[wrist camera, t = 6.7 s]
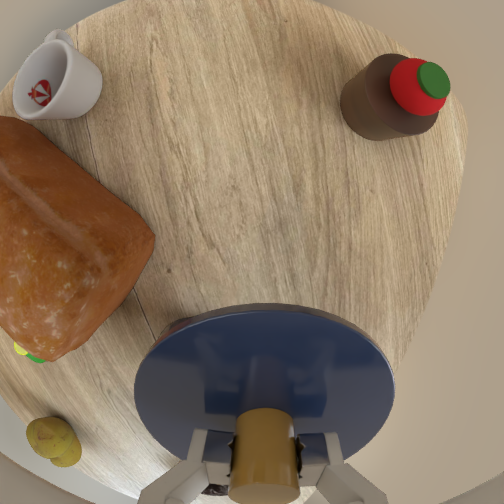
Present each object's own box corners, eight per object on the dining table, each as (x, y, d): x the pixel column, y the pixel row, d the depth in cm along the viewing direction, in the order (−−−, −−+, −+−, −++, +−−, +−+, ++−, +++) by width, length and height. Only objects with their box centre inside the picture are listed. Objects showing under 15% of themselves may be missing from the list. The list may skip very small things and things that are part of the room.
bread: (114, 320, 31) (46, 406, 16) (-10, 200, 27) (-91, 225, 12) (170, 230, 28) (88, 297, 13) (24, 111, 24) (-69, 104, 9)
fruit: (43, 394, 37) (18, 428, 27) (94, 431, 39) (75, 469, 29) (39, 416, 40) (19, 446, 30) (84, 448, 41) (68, 481, 32)
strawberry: (426, 75, 17) (457, 62, 12) (427, 124, 18) (461, 119, 13) (379, 61, 17) (405, 41, 12) (380, 112, 18) (409, 101, 13)
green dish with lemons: (32, 362, 35) (23, 371, 32) (8, 322, 33) (-2, 330, 30) (57, 358, 34) (47, 368, 31) (30, 313, 32) (19, 321, 29)
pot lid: (417, 297, 10) (485, 368, 5) (350, 460, 13) (364, 523, 8) (124, 283, 10) (51, 354, 5) (162, 453, 13) (143, 516, 8)
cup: (55, 58, 22) (15, 42, 14) (109, 30, 21) (74, 3, 14) (58, 135, 25) (11, 133, 17) (115, 111, 24) (72, 97, 17)
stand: (402, 84, 23) (437, 67, 16) (402, 146, 25) (439, 143, 18) (340, 69, 23) (363, 44, 16) (338, 135, 25) (364, 125, 18)
